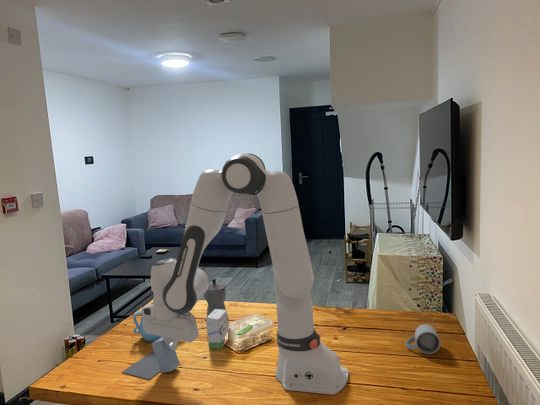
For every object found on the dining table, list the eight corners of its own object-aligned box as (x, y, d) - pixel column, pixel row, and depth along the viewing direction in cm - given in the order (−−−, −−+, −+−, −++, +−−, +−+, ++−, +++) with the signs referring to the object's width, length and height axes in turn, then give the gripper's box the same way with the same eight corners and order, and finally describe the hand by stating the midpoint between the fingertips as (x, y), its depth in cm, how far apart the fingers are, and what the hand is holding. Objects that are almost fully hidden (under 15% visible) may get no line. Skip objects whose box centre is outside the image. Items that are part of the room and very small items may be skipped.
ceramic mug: (436, 342, 142) (436, 321, 141) (440, 354, 134) (440, 332, 133) (404, 341, 145) (403, 321, 143) (406, 353, 137) (405, 331, 136)
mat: (177, 358, 143) (177, 357, 143) (149, 380, 131) (149, 379, 131) (151, 352, 148) (151, 351, 148) (121, 372, 136) (121, 371, 136)
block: (180, 364, 136) (170, 336, 136) (171, 371, 132) (160, 342, 132) (170, 365, 139) (160, 337, 139) (161, 372, 135) (151, 343, 135)
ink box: (221, 350, 147) (218, 318, 145) (208, 348, 148) (205, 318, 147) (229, 338, 155) (227, 309, 153) (217, 337, 156) (215, 308, 155)
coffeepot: (236, 321, 170) (232, 279, 168) (218, 329, 164) (214, 285, 161) (213, 311, 181) (210, 272, 179) (196, 319, 175) (192, 278, 172)
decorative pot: (163, 323, 173) (159, 292, 171) (190, 330, 164) (187, 298, 162) (131, 340, 160) (126, 306, 158) (159, 349, 151) (155, 313, 149)
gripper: (200, 309, 130) (204, 350, 132) (151, 301, 139) (155, 339, 141) (188, 317, 124) (192, 359, 126) (137, 308, 133) (141, 348, 135)
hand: (172, 349), depth 134 cm, fingers closed
